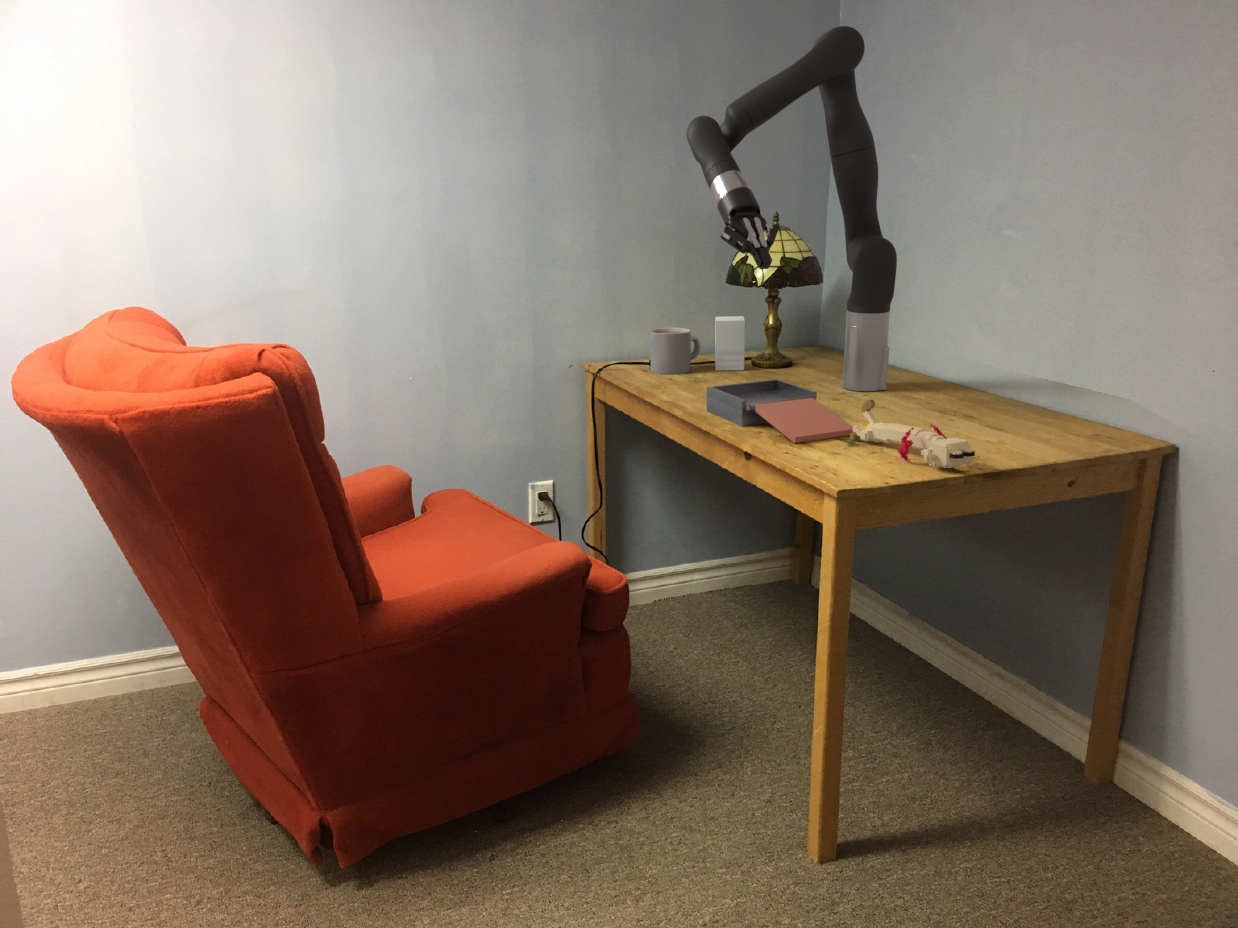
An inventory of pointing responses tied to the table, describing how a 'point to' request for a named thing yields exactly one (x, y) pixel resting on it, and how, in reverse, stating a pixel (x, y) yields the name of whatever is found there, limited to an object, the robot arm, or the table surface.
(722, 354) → the supplement box
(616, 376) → the table surface
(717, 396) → the grey open box
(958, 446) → the cream blocky figure
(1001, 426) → the table surface
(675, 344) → the coffee mug
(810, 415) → the flat pink square board
